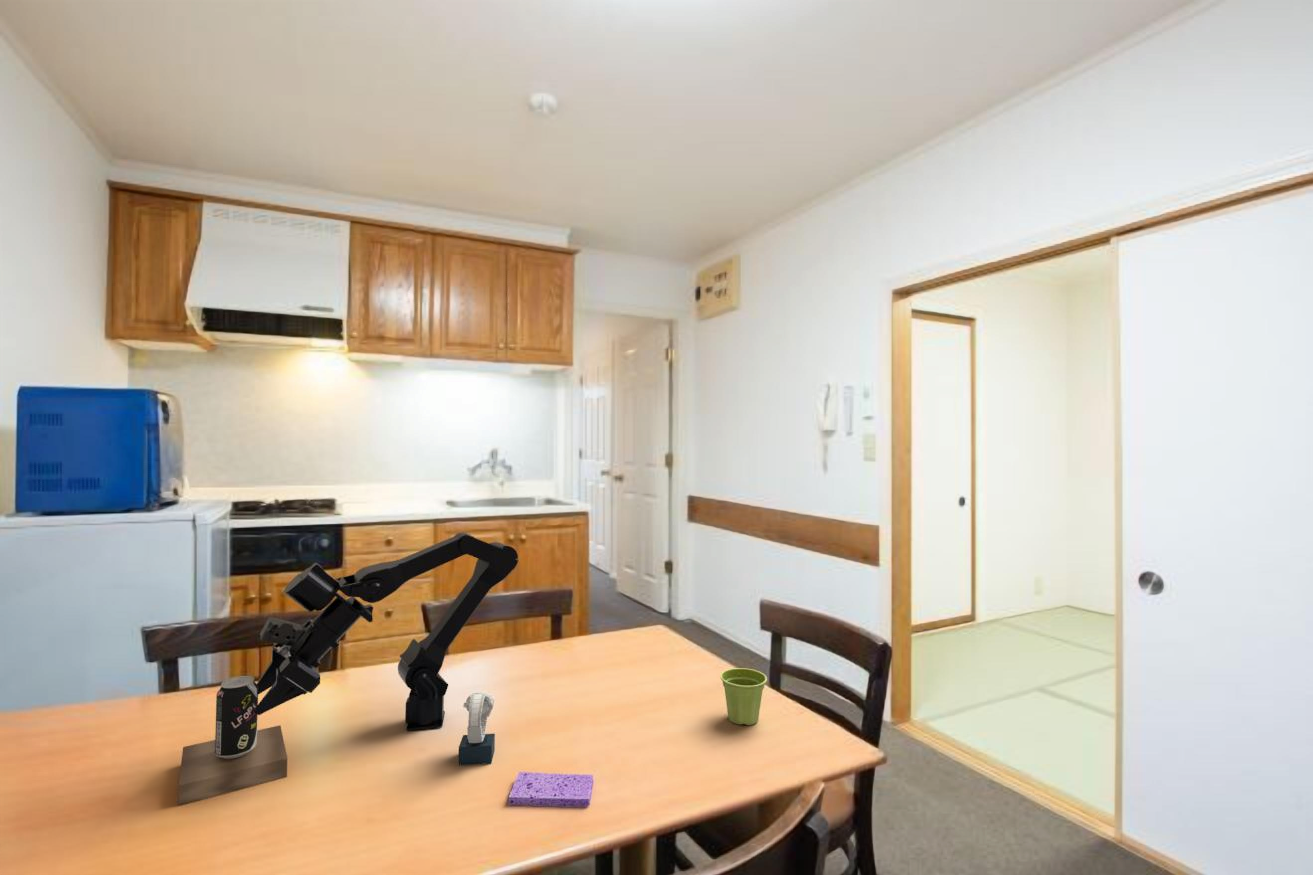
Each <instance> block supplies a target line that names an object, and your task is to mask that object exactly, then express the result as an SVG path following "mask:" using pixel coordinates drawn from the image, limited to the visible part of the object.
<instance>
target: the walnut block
mask: <svg viewBox="0 0 1313 875" xmlns="http://www.w3.org/2000/svg"><path fill="white" fill-rule="evenodd" d="M283 736H284V735H283V732H282V726H281V724H280V725H274V726H271V727H266V728H262V729H257V745H256V746H255V748H254V749H252V750H251V751H250V752H249V753H247V754H245V755H243V756H241V757H238V758H233V759H224V758H221V757H218V756H216V754H215V739H212V740H208V741H204V742H200V743H195V744H191V745H187V746H186V745H185V746H182V753H181V762H180V763H181V764H180V769H179V770H180V772H179V779H178V780H179V781H178V786H177V787H178V788H177V789H178V791H177V793H178V795H177V796H178V797H177V805H178V806H177V807H180V806H183V805H187V804H190V803H194V802H198V801H202V800H204V799H205V800H206V799H209V798H212V797H216V796H220V795H223V794H228V793H232V792H235V791H239V790H243V789H247V788H249V787H254V786H258V785H261V784H265V783H268V782H274V781H276V780H279V779H284V778H287V777H288V754H287V751H286V750H287V749H286V745H285V740H284V737H283Z"/></svg>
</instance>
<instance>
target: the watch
mask: <svg viewBox="0 0 1313 875" xmlns="http://www.w3.org/2000/svg"><path fill="white" fill-rule="evenodd" d="M494 704H495V698H494V696H493V695H492V694H489V693H487V692H483V691H482V692H481V691H480V692H478V691H477V692H474V693H473V692H472V693H471V694H469V696H467V698H466V702H463V706H462V707H463V708H466V710H467V712H468V719H467V722H468V725H467V727H466V729H467V731H466V732H467V734H463V736H462V737H461V740H460V743H459V745H458V756H457V757H458V759H457V760H458V761H457V764H458V766H471V765H473V766H474V765H489V764H492V762H493V758H494V754H495V752H496V751H495V749H496V746H495V745H496V744H495V741H496V740H495V739H496V738H495V737H496V733H486V730H487V722H488V718H489V717H490V715H491V712H492V710H493V708H494Z"/></svg>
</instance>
